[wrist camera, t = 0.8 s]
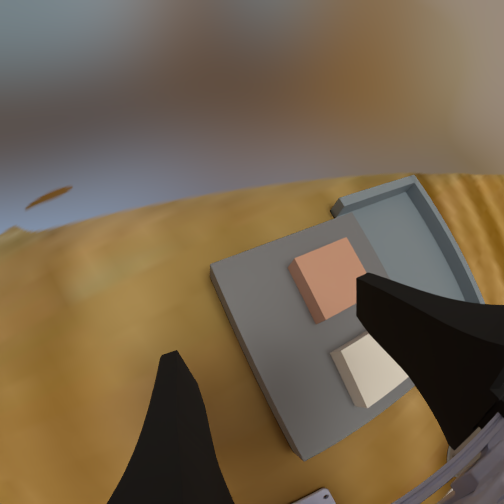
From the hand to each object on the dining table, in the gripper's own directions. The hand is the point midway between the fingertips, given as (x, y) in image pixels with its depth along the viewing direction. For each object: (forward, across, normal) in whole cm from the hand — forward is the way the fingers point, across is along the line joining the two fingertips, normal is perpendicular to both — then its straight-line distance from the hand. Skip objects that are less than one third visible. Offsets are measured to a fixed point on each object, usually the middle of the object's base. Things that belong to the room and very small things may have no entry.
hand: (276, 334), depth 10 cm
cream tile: (+4, -7, +12) cm, 14 cm away
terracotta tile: (+9, -7, +7) cm, 13 cm away
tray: (+10, -19, +12) cm, 25 cm away
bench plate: (+9, -6, +11) cm, 15 cm away
